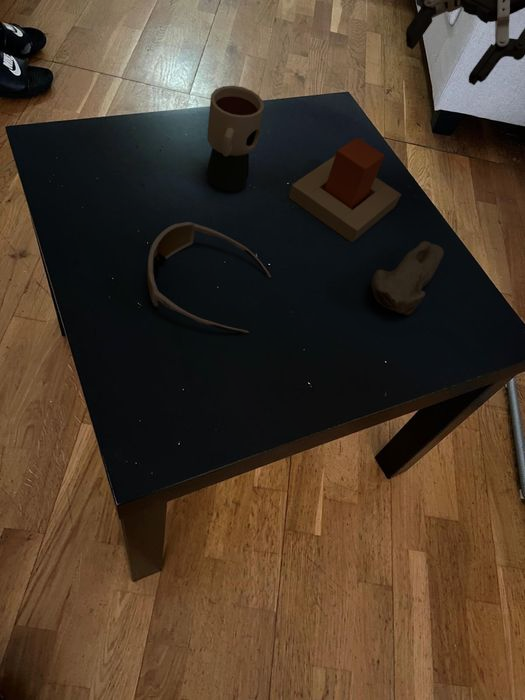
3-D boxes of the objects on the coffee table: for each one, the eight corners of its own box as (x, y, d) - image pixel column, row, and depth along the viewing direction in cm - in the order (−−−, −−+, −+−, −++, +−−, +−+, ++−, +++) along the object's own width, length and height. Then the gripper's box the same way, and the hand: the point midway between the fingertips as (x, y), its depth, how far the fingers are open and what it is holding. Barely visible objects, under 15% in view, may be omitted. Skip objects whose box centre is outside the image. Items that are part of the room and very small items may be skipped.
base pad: (395, 206, 84) (401, 194, 82) (352, 243, 78) (357, 230, 76) (334, 165, 87) (339, 152, 85) (288, 197, 81) (291, 184, 79)
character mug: (242, 210, 78) (256, 131, 67) (195, 198, 78) (201, 117, 67) (255, 164, 84) (270, 85, 74) (211, 152, 84) (219, 72, 73)
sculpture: (400, 248, 80) (353, 300, 72) (415, 224, 77) (368, 276, 68) (440, 275, 79) (398, 332, 70) (457, 252, 75) (415, 310, 67)
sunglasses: (170, 229, 73) (176, 203, 69) (270, 276, 75) (281, 253, 71) (124, 305, 65) (128, 280, 61) (238, 355, 67) (249, 334, 63)
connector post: (364, 203, 83) (385, 155, 76) (346, 218, 81) (365, 169, 73) (339, 186, 85) (357, 137, 77) (320, 200, 82) (337, 150, 75)
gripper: (482, -131, 55) (384, 15, 59) (608, -74, 52) (495, 78, 55) (479, -78, 63) (392, 49, 66) (590, -25, 59) (491, 107, 63)
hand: (439, 62), depth 61 cm, fingers open, 8 cm apart
